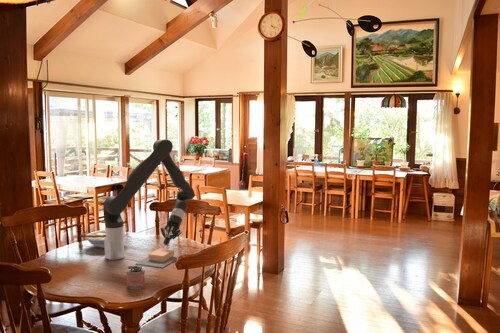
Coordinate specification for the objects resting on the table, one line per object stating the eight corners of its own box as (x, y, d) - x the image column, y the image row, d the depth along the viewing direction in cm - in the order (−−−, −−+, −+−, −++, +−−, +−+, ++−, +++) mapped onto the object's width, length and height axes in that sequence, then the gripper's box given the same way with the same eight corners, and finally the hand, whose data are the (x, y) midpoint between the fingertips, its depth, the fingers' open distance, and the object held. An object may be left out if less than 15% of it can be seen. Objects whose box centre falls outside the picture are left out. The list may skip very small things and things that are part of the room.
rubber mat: (162, 268, 203) (162, 267, 203) (135, 264, 208) (135, 263, 208) (178, 258, 218) (178, 257, 218) (153, 255, 223) (153, 254, 223)
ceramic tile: (174, 256, 220) (163, 262, 210) (159, 254, 223) (148, 260, 213) (174, 250, 220) (163, 256, 209) (159, 248, 223) (148, 254, 212)
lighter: (145, 285, 181) (145, 264, 180) (144, 288, 177) (143, 266, 176) (127, 285, 180) (127, 264, 179) (125, 288, 177) (125, 266, 176)
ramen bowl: (134, 241, 249) (134, 228, 248) (118, 253, 226) (118, 238, 226) (95, 240, 252) (95, 227, 251) (76, 251, 229) (75, 237, 228)
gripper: (163, 213, 229) (152, 240, 219) (184, 215, 225) (173, 242, 215) (168, 220, 235) (157, 246, 225) (188, 222, 231) (178, 249, 220)
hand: (165, 244), depth 220 cm, fingers closed
